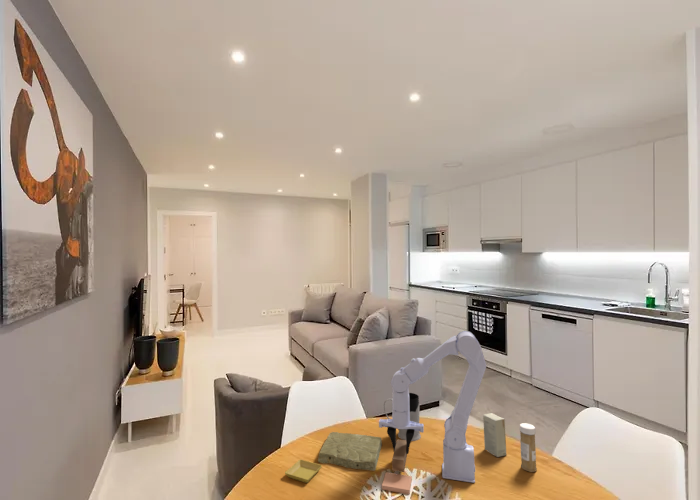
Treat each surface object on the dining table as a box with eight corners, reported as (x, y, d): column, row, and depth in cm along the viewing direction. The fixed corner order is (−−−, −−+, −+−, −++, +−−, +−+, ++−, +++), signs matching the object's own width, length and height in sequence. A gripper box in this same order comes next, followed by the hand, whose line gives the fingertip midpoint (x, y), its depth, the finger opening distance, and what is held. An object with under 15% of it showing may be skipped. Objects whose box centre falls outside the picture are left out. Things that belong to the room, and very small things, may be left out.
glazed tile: (411, 476, 104) (409, 490, 98) (411, 481, 104) (409, 496, 98) (386, 472, 106) (382, 485, 100) (386, 477, 106) (381, 491, 100)
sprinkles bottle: (539, 472, 108) (538, 428, 109) (525, 472, 108) (524, 428, 109) (531, 464, 113) (530, 422, 114) (518, 464, 113) (516, 422, 114)
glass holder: (422, 441, 128) (422, 400, 129) (384, 440, 129) (384, 399, 130) (418, 430, 137) (418, 392, 138) (383, 429, 137) (383, 391, 138)
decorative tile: (329, 439, 131) (329, 429, 131) (382, 444, 127) (382, 434, 127) (315, 466, 112) (315, 455, 113) (375, 473, 108) (375, 462, 109)
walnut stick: (407, 451, 115) (407, 440, 115) (403, 472, 104) (403, 460, 104) (397, 449, 116) (397, 439, 116) (392, 470, 105) (392, 458, 105)
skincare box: (507, 455, 118) (505, 419, 119) (497, 458, 117) (496, 421, 117) (492, 446, 124) (492, 412, 125) (483, 449, 123) (482, 413, 123)
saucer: (284, 479, 105) (284, 472, 105) (299, 465, 113) (300, 458, 113) (307, 487, 101) (308, 480, 101) (322, 471, 109) (322, 465, 109)
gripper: (423, 406, 115) (424, 448, 114) (381, 402, 119) (381, 442, 118) (422, 415, 108) (423, 459, 108) (377, 410, 112) (377, 453, 111)
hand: (401, 451), depth 112 cm, fingers closed on walnut stick, 3 cm apart
